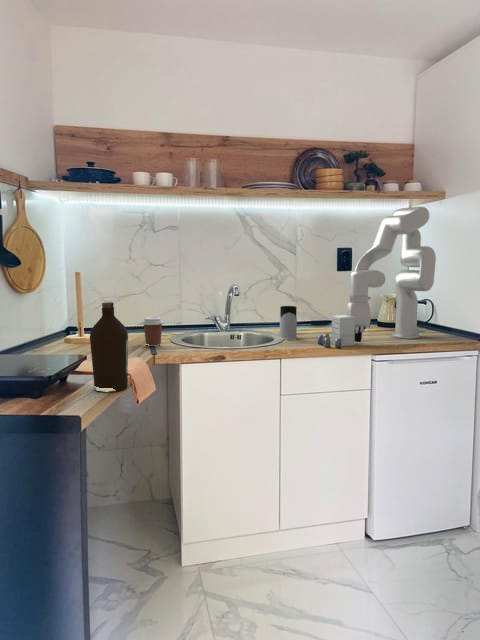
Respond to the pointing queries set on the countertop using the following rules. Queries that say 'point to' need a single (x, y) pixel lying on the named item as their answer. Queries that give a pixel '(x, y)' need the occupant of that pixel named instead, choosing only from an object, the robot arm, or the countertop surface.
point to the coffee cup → (153, 330)
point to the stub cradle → (328, 341)
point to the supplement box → (343, 329)
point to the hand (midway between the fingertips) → (357, 341)
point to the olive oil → (109, 351)
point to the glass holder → (288, 322)
